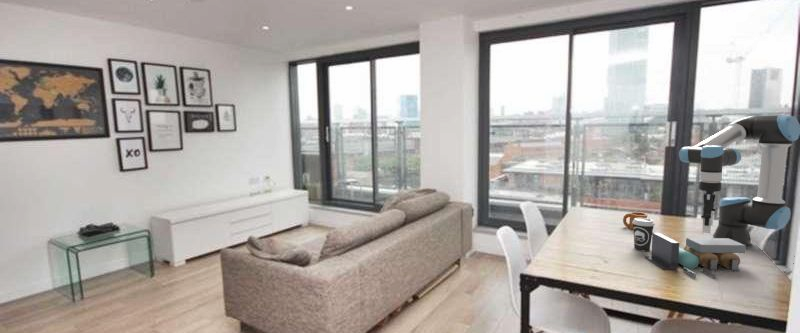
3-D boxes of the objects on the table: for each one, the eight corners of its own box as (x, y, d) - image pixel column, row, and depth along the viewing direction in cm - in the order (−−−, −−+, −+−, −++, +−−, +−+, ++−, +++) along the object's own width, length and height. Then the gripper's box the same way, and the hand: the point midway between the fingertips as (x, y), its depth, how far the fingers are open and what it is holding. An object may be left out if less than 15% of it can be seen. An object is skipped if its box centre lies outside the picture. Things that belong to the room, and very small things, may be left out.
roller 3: (700, 257, 182) (702, 243, 181) (715, 258, 182) (718, 244, 181) (723, 268, 168) (725, 253, 167) (740, 270, 167) (742, 254, 167)
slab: (727, 245, 178) (728, 238, 178) (745, 253, 169) (745, 245, 168) (685, 245, 180) (686, 237, 179) (700, 252, 170) (701, 244, 170)
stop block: (657, 257, 184) (659, 232, 183) (677, 269, 169) (679, 242, 168) (644, 257, 185) (645, 232, 183) (663, 269, 170) (664, 242, 168)
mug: (625, 225, 240) (625, 210, 239) (647, 228, 232) (648, 213, 231) (621, 227, 234) (622, 213, 233) (644, 231, 226) (645, 216, 225)
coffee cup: (656, 252, 191) (658, 222, 189) (635, 251, 193) (636, 221, 191) (648, 246, 200) (650, 217, 198) (628, 245, 202) (629, 217, 200)
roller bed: (711, 257, 183) (712, 246, 183) (755, 278, 158) (756, 267, 158) (658, 256, 185) (659, 246, 184) (693, 278, 160) (694, 266, 160)
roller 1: (666, 258, 182) (668, 245, 181) (680, 260, 182) (683, 246, 181) (681, 267, 171) (684, 253, 170) (697, 269, 170) (700, 255, 169)
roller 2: (681, 257, 183) (682, 243, 182) (696, 257, 182) (698, 243, 182) (702, 268, 169) (704, 253, 168) (719, 269, 168) (720, 254, 167)
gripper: (702, 176, 183) (699, 221, 185) (696, 185, 164) (694, 234, 167) (722, 177, 178) (720, 223, 181) (719, 186, 159) (716, 237, 162)
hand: (707, 228), depth 174 cm, fingers open, 13 cm apart
